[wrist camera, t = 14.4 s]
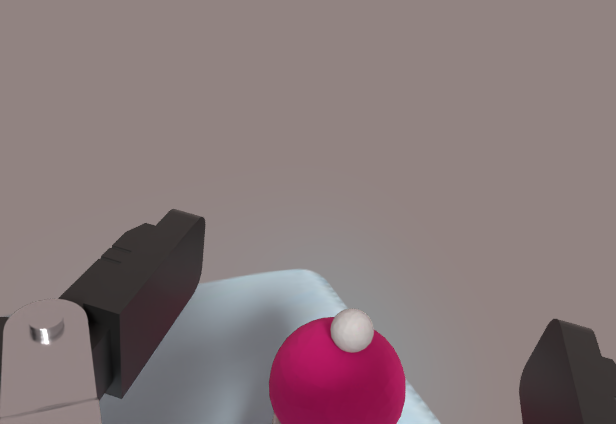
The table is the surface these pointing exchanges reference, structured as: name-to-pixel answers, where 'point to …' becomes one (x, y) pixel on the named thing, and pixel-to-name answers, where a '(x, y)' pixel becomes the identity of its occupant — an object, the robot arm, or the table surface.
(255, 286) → the table surface
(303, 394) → the pepper mill
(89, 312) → the robot arm
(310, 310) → the table surface
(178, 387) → the table surface
